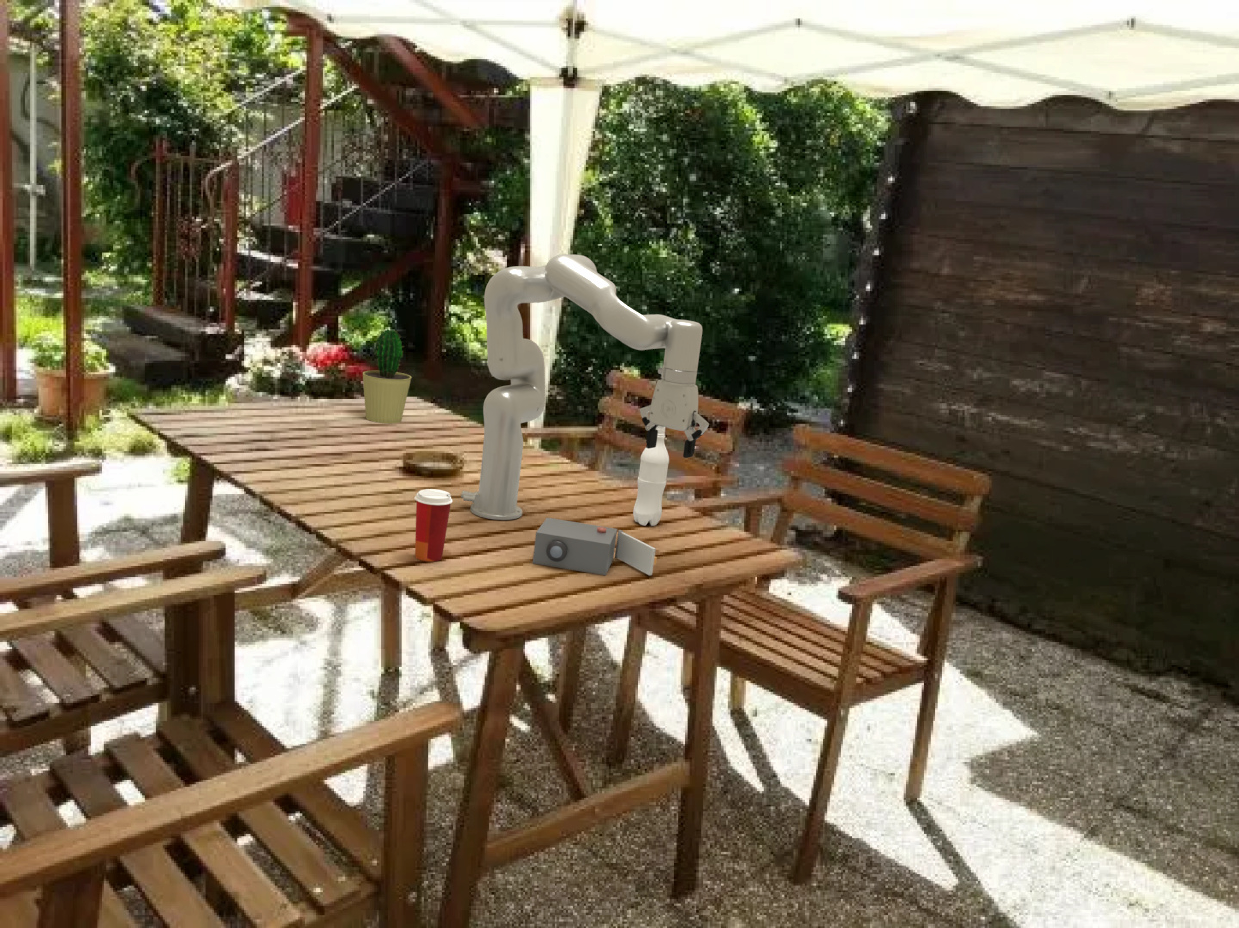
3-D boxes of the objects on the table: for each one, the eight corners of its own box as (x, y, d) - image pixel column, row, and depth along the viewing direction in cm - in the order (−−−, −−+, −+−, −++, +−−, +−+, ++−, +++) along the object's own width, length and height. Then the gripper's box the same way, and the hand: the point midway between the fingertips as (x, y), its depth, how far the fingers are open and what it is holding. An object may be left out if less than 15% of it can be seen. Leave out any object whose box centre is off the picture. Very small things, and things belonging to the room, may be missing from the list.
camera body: (531, 565, 228) (535, 530, 226) (543, 547, 241) (547, 514, 239) (604, 577, 226) (609, 542, 224) (613, 558, 239) (617, 525, 237)
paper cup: (449, 553, 228) (455, 490, 225) (444, 565, 221) (450, 500, 218) (412, 549, 228) (417, 486, 225) (406, 561, 220) (412, 496, 217)
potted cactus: (417, 422, 349) (425, 331, 342) (384, 426, 336) (391, 332, 330) (383, 412, 357) (390, 323, 350) (349, 416, 344) (355, 324, 337)
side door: (648, 576, 230) (652, 548, 228) (613, 557, 239) (617, 530, 238) (655, 575, 231) (659, 547, 229) (620, 556, 240) (624, 529, 239)
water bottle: (643, 517, 275) (656, 422, 269) (665, 525, 270) (679, 429, 265) (626, 521, 269) (639, 424, 263) (648, 529, 265) (662, 431, 259)
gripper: (637, 370, 236) (627, 446, 240) (704, 385, 227) (694, 463, 231) (654, 369, 242) (645, 442, 246) (721, 382, 233) (711, 458, 237)
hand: (669, 452), depth 238 cm, fingers open, 9 cm apart
